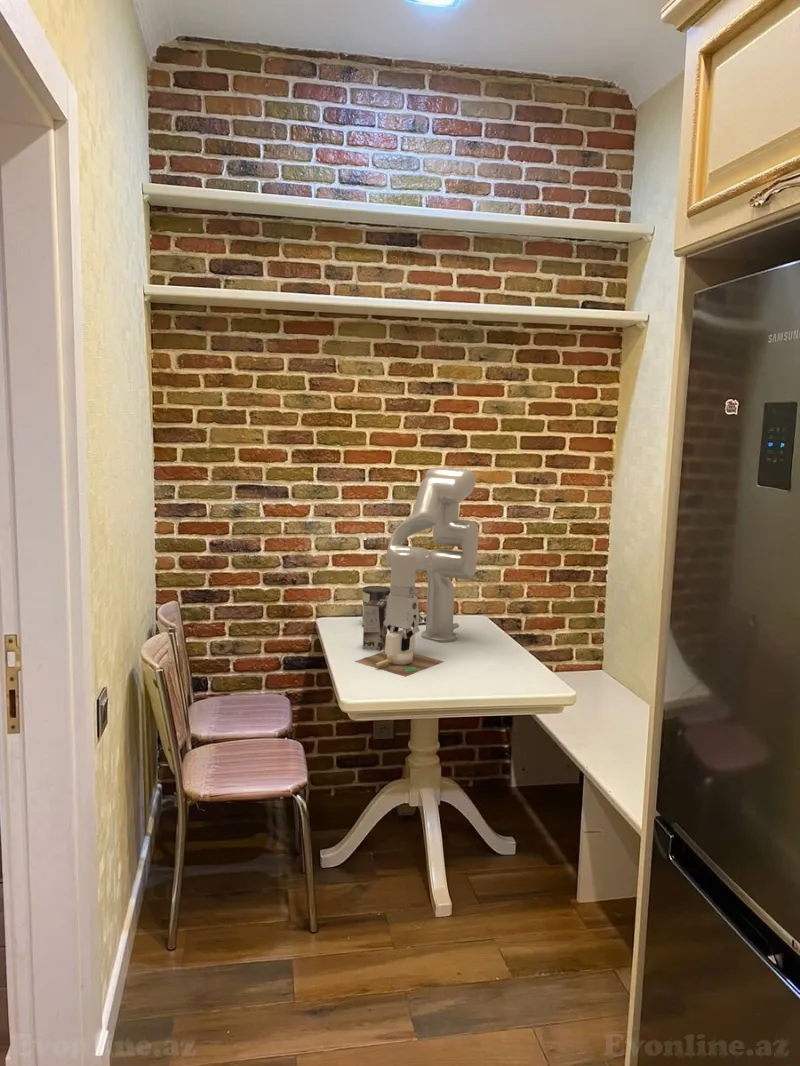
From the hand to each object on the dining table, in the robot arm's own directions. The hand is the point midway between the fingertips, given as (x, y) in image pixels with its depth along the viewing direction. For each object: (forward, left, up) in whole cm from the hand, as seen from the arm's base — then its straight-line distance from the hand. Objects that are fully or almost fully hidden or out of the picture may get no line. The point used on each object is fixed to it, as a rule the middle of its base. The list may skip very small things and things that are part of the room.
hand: (400, 648), depth 233 cm
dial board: (0, 0, -6) cm, 6 cm away
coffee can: (-31, -36, -6) cm, 48 cm away
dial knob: (+3, 0, -4) cm, 5 cm away
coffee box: (-7, -16, -6) cm, 18 cm away
